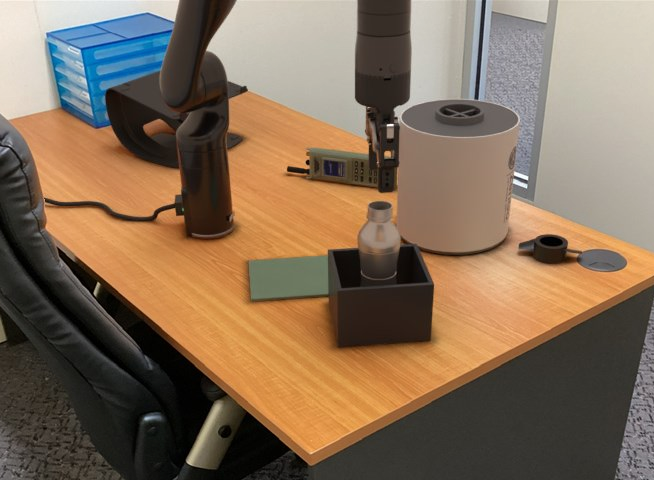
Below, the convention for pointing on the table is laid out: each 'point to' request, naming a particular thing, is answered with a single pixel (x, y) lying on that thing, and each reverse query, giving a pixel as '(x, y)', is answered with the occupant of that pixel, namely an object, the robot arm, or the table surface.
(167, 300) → the table surface
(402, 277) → the tote
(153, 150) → the laptop stand
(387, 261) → the plastic bottle
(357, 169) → the handheld radio
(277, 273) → the mat
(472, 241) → the humidifier
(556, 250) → the black tabbed ring
